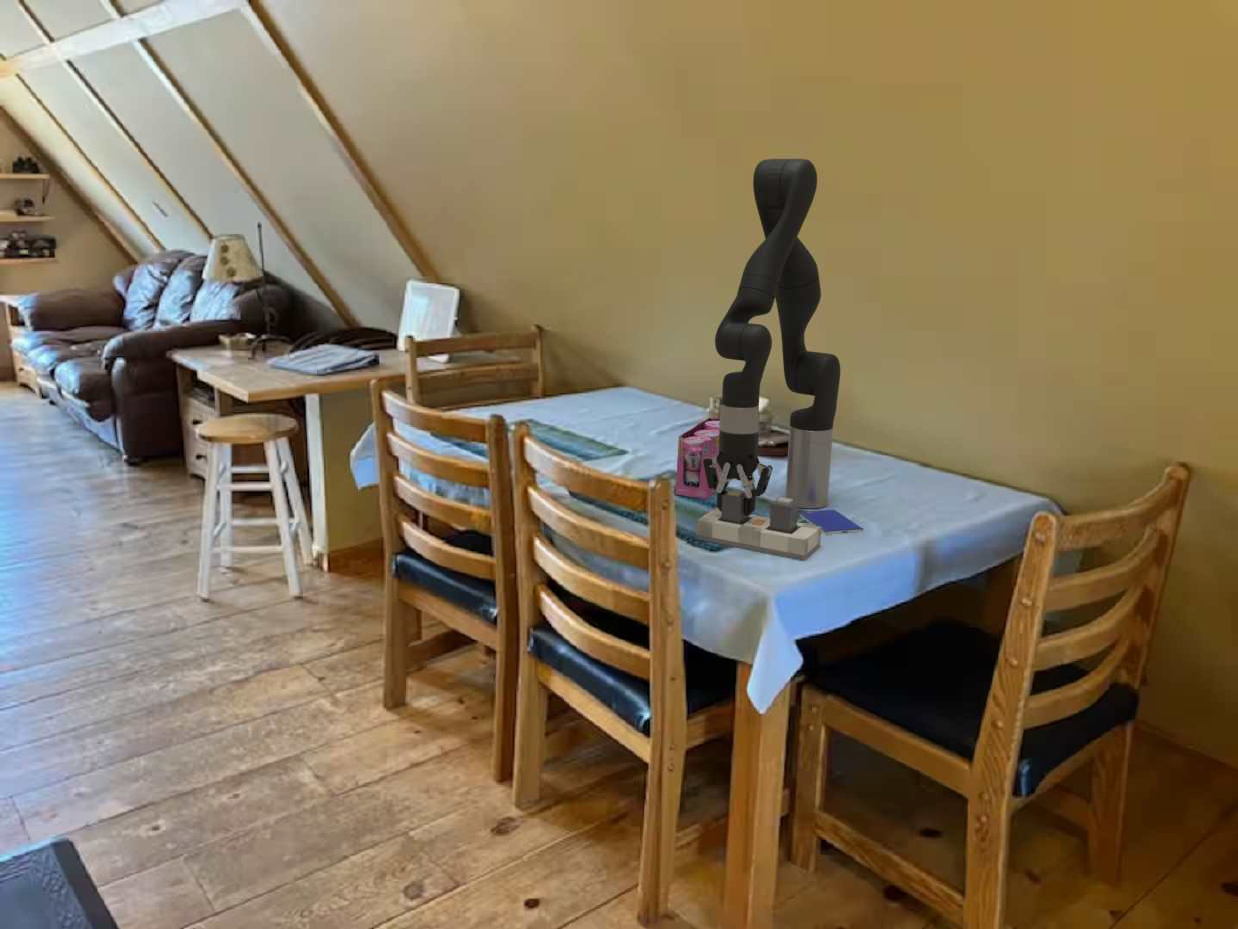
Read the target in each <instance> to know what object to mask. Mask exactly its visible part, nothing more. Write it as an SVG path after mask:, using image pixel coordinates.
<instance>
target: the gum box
mask: <svg viewBox="0 0 1238 929" xmlns="http://www.w3.org/2000/svg"><path fill="white" fill-rule="evenodd" d="M719 421H720V417H708V418H706V419H705V420H703V421H701V422H700V423H699V424H697V425H694V426H693V427H692V428H690V429H689V430H686V431H685V432H683V433H682V434H680V435H678V447H677V461H676V478H675V480H676V481H675V495H677V496H678V495H679V496H684V497H690V498H696V497H697V499H703V500H708V499H709V498H710V497H711V496H713V495H714V494H715V493H717V491H716V490H714V489H713V488H712V489H710V488H709V487H708V483H707V478H706V473H705V468H704V463H703V461H704V459H706V458H708V457H710V456H712V457H717V456H718V454H719V428H720V426H719ZM716 472H717V477H718V482H719V478H720V476H721V473H722V470H721V468H720V466H719V465H718V463H717V467H716ZM732 480H733V479H731V480H730V481H732Z"/></svg>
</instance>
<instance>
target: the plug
mask: <svg viewBox="0 0 1238 929" xmlns="http://www.w3.org/2000/svg"><path fill="white" fill-rule="evenodd" d="M746 497H747V496H746V493H745V490H740V489H734V488H732V489H731V490H729V491H728V493H726V494H724V495H722V515H721V521H724V522H729V523H734V524H740V525H743V524H744V523H746V522H747V521H748V520H749V516H745V515H744V513H745V498H746Z"/></svg>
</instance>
